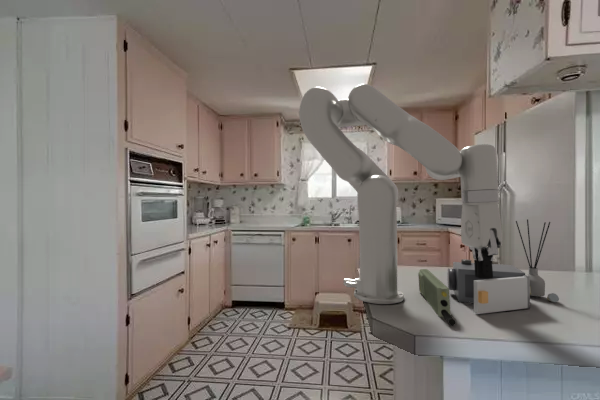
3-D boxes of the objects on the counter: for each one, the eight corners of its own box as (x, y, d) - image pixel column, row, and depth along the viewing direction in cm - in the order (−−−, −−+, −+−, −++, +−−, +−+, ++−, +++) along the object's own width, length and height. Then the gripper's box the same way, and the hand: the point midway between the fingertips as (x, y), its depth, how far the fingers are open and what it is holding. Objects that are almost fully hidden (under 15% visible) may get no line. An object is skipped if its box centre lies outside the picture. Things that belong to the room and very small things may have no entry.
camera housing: (451, 300, 77) (450, 264, 77) (447, 290, 86) (446, 257, 87) (525, 307, 72) (525, 268, 72) (512, 295, 81) (512, 261, 81)
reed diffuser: (509, 293, 83) (508, 219, 84) (526, 290, 86) (525, 218, 86) (552, 304, 74) (551, 220, 74) (569, 301, 76) (568, 220, 77)
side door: (526, 306, 72) (525, 275, 72) (535, 309, 70) (534, 277, 70) (473, 312, 68) (473, 279, 68) (481, 315, 66) (481, 281, 66)
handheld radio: (431, 293, 85) (462, 329, 60) (418, 293, 85) (444, 329, 61) (430, 268, 85) (460, 294, 60) (417, 268, 85) (442, 294, 61)
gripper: (449, 200, 80) (453, 271, 79) (479, 198, 65) (484, 286, 64) (480, 198, 79) (483, 270, 79) (516, 196, 64) (521, 285, 64)
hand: (483, 277), depth 72 cm, fingers closed
